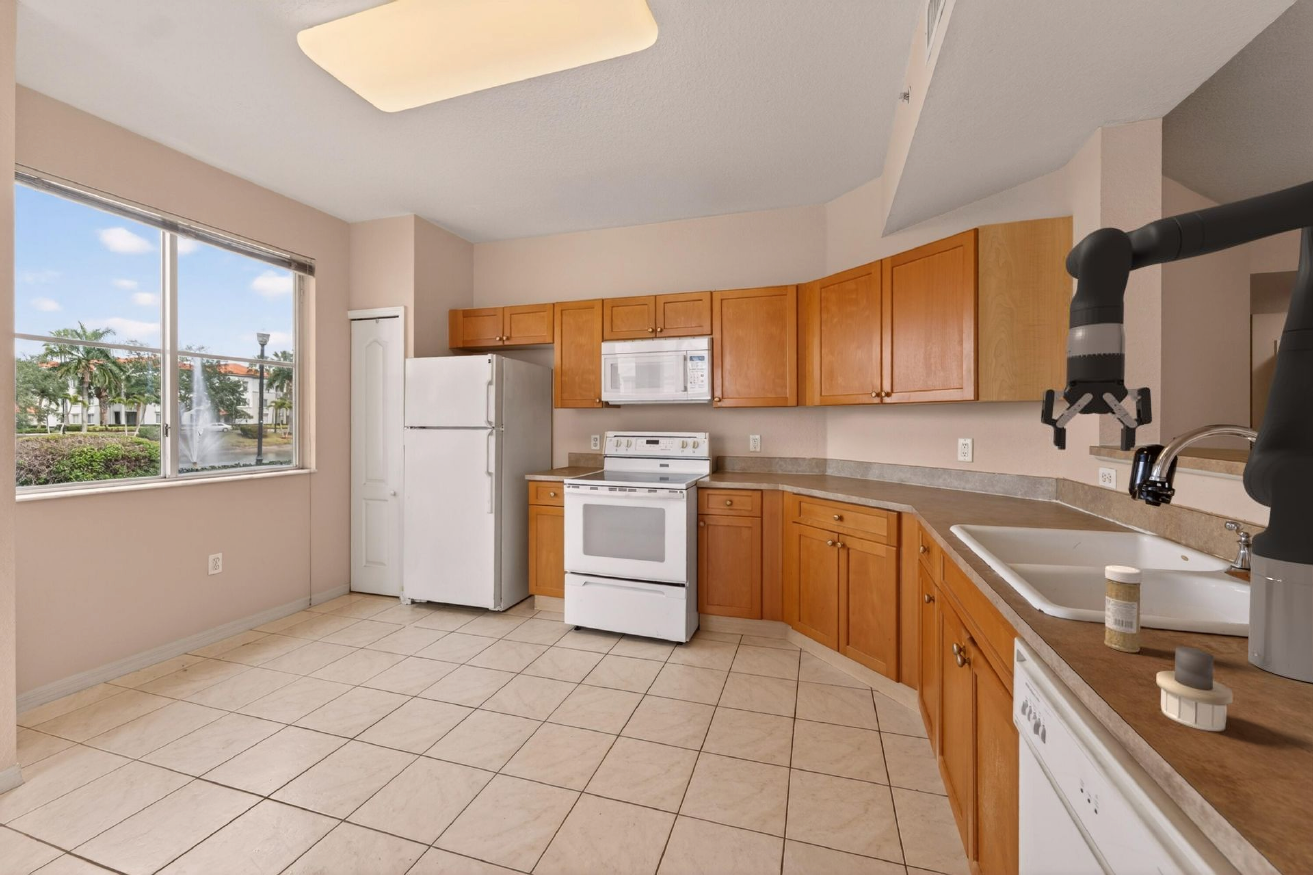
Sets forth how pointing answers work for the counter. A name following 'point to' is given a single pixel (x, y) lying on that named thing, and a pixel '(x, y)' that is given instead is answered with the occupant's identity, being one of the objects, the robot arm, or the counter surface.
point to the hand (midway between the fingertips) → (1093, 450)
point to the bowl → (1193, 712)
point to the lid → (1194, 678)
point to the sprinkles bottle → (1122, 608)
